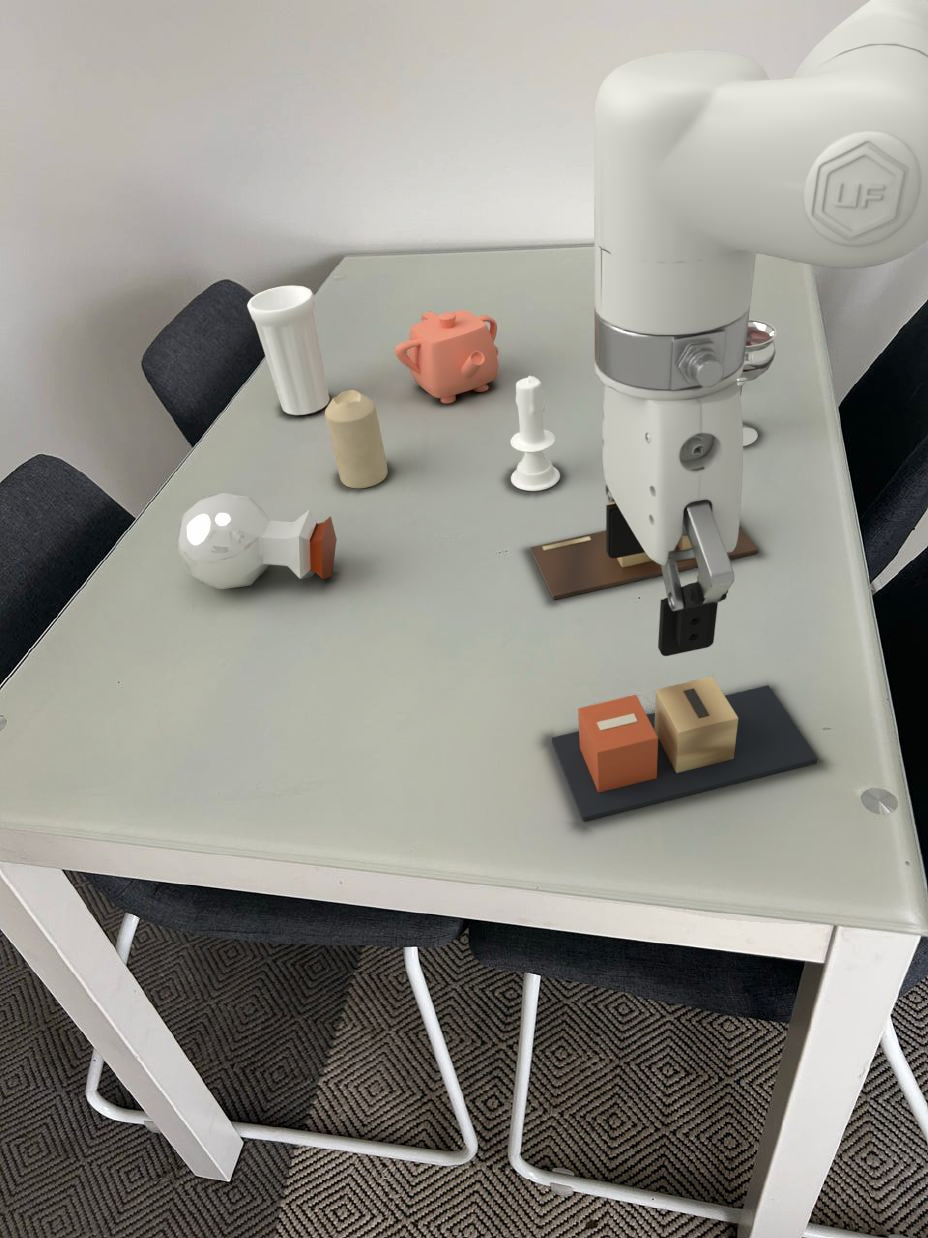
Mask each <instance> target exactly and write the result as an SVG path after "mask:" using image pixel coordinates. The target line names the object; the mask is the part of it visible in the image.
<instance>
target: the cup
mask: <svg viewBox="0 0 928 1238" xmlns="http://www.w3.org/2000/svg"><path fill="white" fill-rule="evenodd" d="M246 307H247V310H248V312H249V314H250V317H251V320H252V321H253V322H254V324H255V327H256V331H257V334H258V337H259V340H260V343H261V346H262V349H263V352H264V356H265V358H266V362H267V365H268V368H269V371H270V374H271V378H272V381H273V384H274V388H275V391H276V393H277V396H278V400H279V403H280V405H281V409H282V411H283V412H285V413H286V414H288V415H292V416H300V415H301V416H302V415H309V414H313V413H316V412H318V411H320V410H322V409H324V408H325V407H326V406H328V405H329V403H330V396H329V390H328V385H327V379H326V375H325V369H324V363H323V359H322V358H323V357H322V352H321V347H320V341H319V336H318V330H317V326H316V325H317V324H316V319H315V314H314V309H315V295H314V293H313V291H312V290H311V288H309V287H306V286H303V285H294V284H293V285H282V286H277V287H273V288H269V289H266V290H264V291H261V292H258V293H257V294H255V295H254V296H252V297H251V298H250V299H249V301H248V302H247V305H246Z"/></svg>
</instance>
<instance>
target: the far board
mask: <svg viewBox="0 0 928 1238" xmlns="http://www.w3.org/2000/svg"><path fill="white" fill-rule="evenodd" d="M529 548H530V549H529V550H530V552H531V555H532V557H533V559H534V561H535V564H536V566H537V568H538V570H539V572H540V574H541V576H542V578H543V581H544V583H545V585H546V587H547V589H548V591H549V593H550V595H551V598H552V599H553V600H559V599H564V598H568V597H572V596H577V595H581V594H585V593H586V594H587V593H590V592H594V591H598V590H602V589H607V588H612V587H616V586H620V585H625V584H629V583H633V582H638V581H642V580H646V579H651V578H656V577H659V576H663V573H662V568H661V565H660V564H658V563H656V562H655V561H649V562H645V563H640V564H636V565H631V566H627V567H622V566H621V565H620V563H619V561H618V560H617V558H610V557H609V555H608V554H607V552H606V529H605V530H602V531H598V532H593V533H588V534H584V535H578V536H574V537H570V538H566V539H565V538H564V539H561V540H556V541H551V542H548V543H543V544H539V545H533V546H530V547H529ZM675 551H680V549H679V547H678V546H676V548H675V549H674V551H671V552H675ZM758 552H759V549H758V547H757V546H756V544H754V542H753V541H752V540H751V538H750V537H749V536H748V535H747V534H746V532H745V531H744V529H742V527H741V526H740V525H739V533H738V540H737V544H736V547H735V549H734V550H733V551H732V552H730V553H727V554H728V557H729V560H730V561H731V560H734V559H739V558H743V557H747V556H752V555H756V554H758ZM676 563H677V568H678V572H681V571H686V570H690V569H695V568H698V564H697V561H696V559H691V560H686V561H681V562H676Z"/></svg>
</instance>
